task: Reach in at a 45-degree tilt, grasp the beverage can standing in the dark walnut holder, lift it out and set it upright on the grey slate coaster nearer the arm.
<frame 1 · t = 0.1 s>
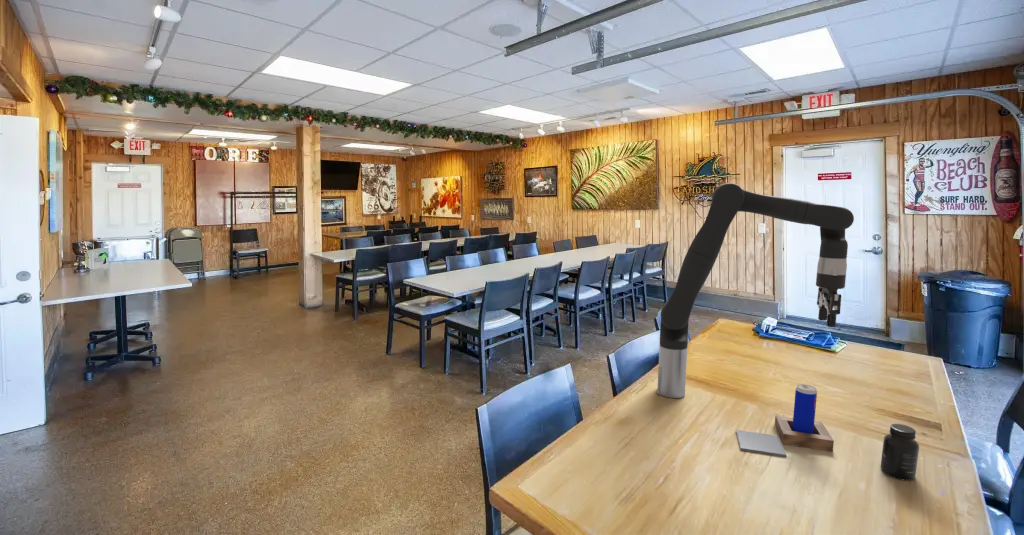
hand: (826, 323, 149), 29 cm above the table, tool pointing down, fingers open, 8 cm apart
slate coaster: (759, 443, 133), on the table
supplement bottle: (897, 474, 118), on the table
walnut holder: (802, 437, 136), on the table
beverage can: (802, 438, 136), resting in walnut holder
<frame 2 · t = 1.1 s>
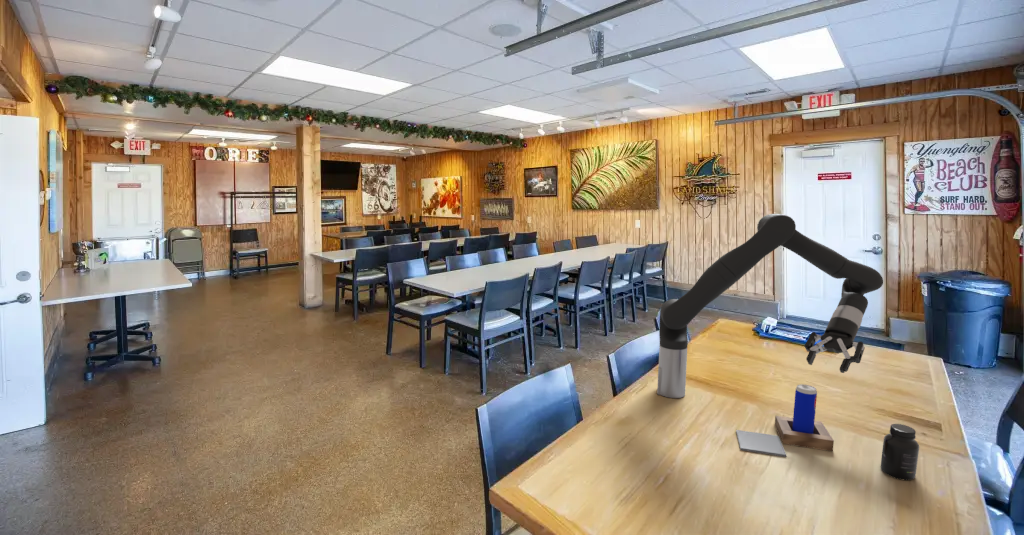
hand: (825, 367, 140), 19 cm above the table, tool tilted 45°, fingers open, 8 cm apart
nothing on the table moved.
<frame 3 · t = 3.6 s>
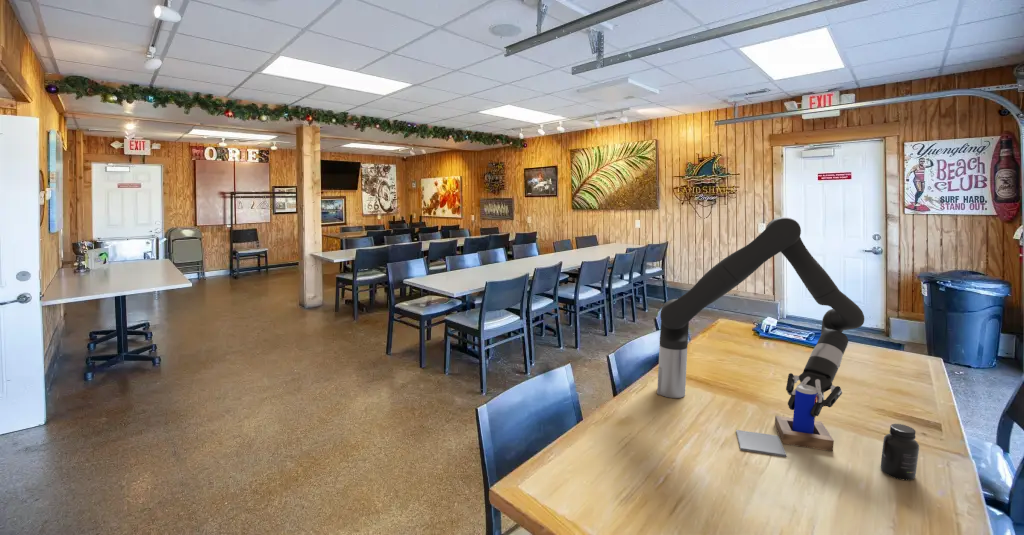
hand: (801, 411, 134), 8 cm above the table, tool tilted 45°, fingers closed on beverage can, 5 cm apart
beverage can: (802, 438, 136), resting in walnut holder, touching gripper
everything else where it was.
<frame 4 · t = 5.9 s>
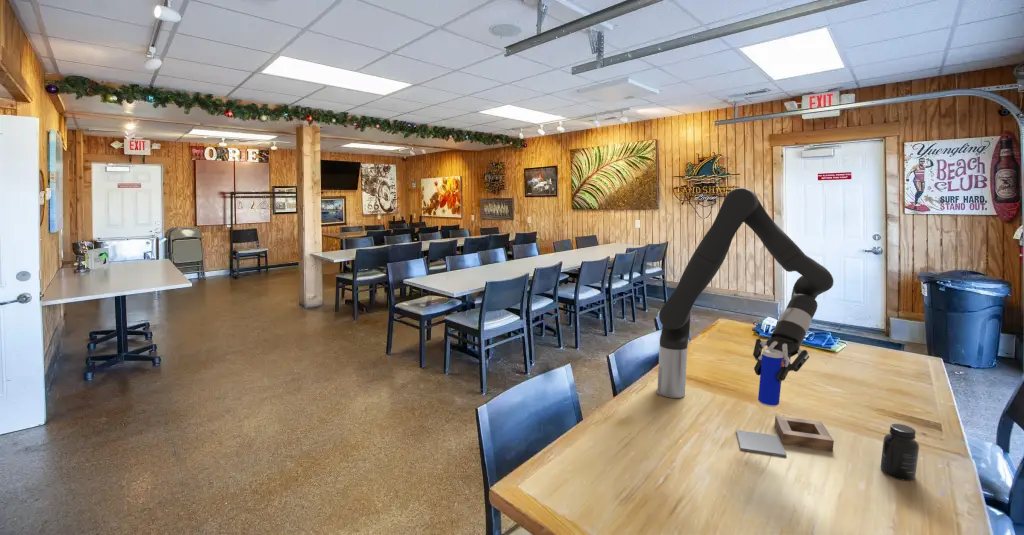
hand: (767, 376, 130), 20 cm above the table, tool tilted 45°, fingers closed on beverage can, 5 cm apart
beverage can: (768, 404, 132), point 11 cm above the table, touching gripper
everything else where it was.
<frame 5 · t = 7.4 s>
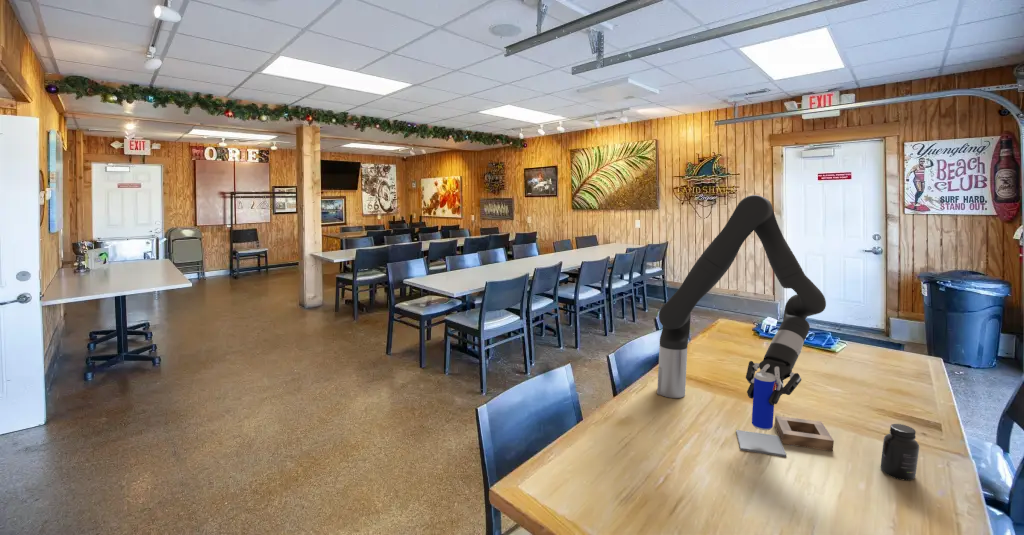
hand: (760, 400, 130), 13 cm above the table, tool tilted 45°, fingers closed on beverage can, 5 cm apart
beverage can: (761, 427, 132), point 5 cm above the table, touching gripper
everything else where it was.
when the fingers open (10 cm above the table, at t = 8.5 s): beverage can stays where it is, resting on slate coaster.
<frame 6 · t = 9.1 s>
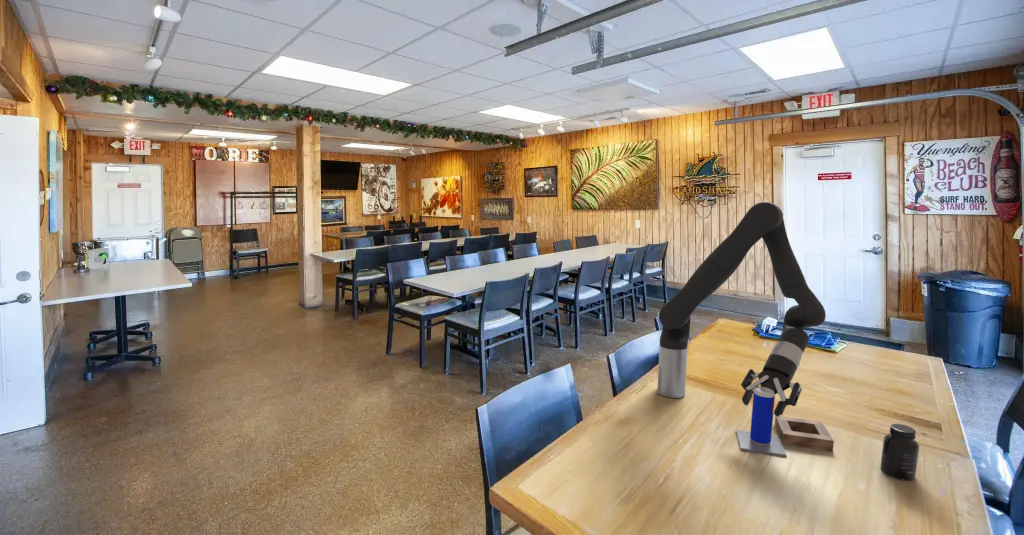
hand: (760, 409, 130), 10 cm above the table, tool tilted 45°, fingers open, 8 cm apart
beverage can: (760, 441, 133), resting on slate coaster
everything else where it was.
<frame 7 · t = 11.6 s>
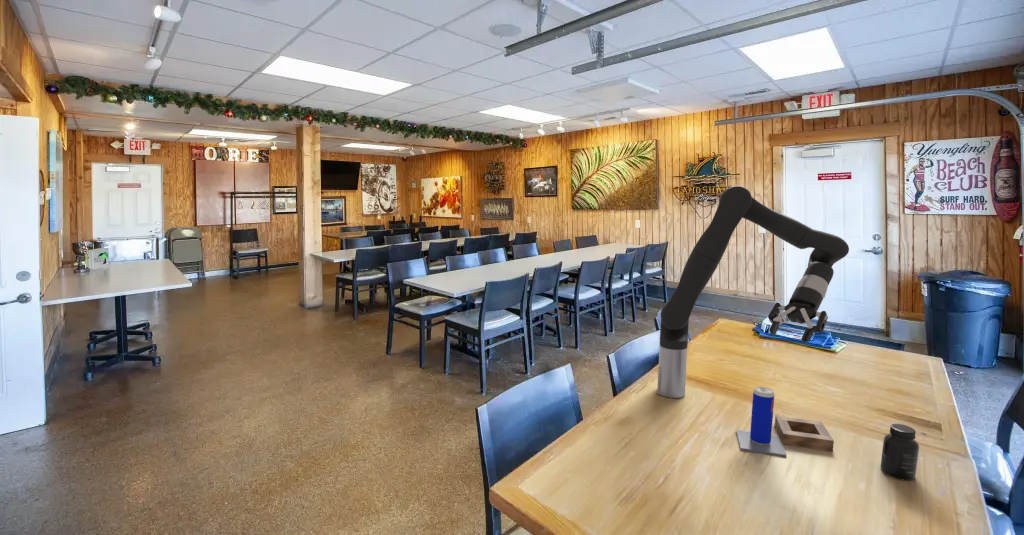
hand: (787, 337, 136), 28 cm above the table, tool tilted 45°, fingers open, 8 cm apart
nothing on the table moved.
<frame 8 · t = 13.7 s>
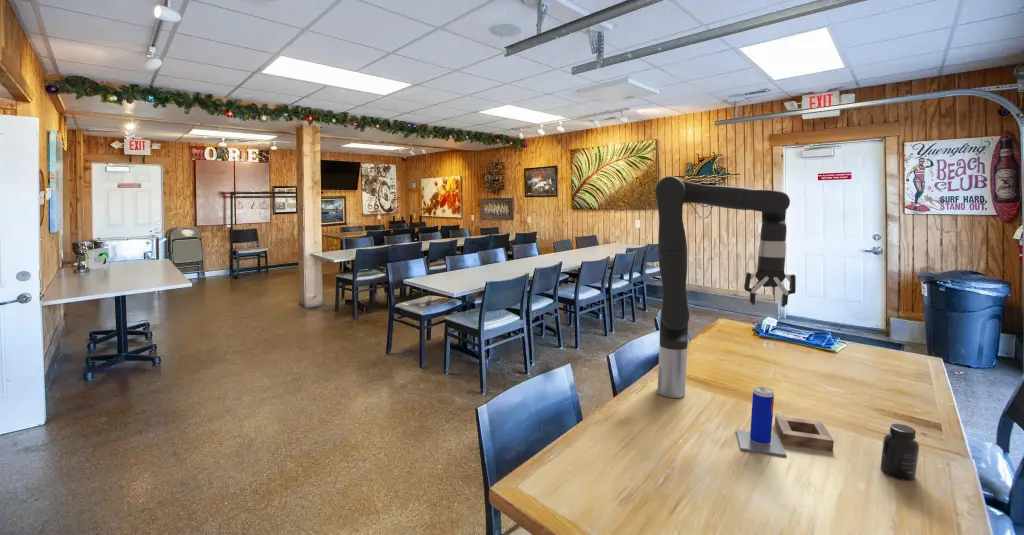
hand: (768, 305, 152), 34 cm above the table, tool pointing down, fingers open, 8 cm apart
nothing on the table moved.
at the end: beverage can 0.2 cm from the slate coaster (horizontally); beverage can tilted 0°; the gripper is holding nothing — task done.
